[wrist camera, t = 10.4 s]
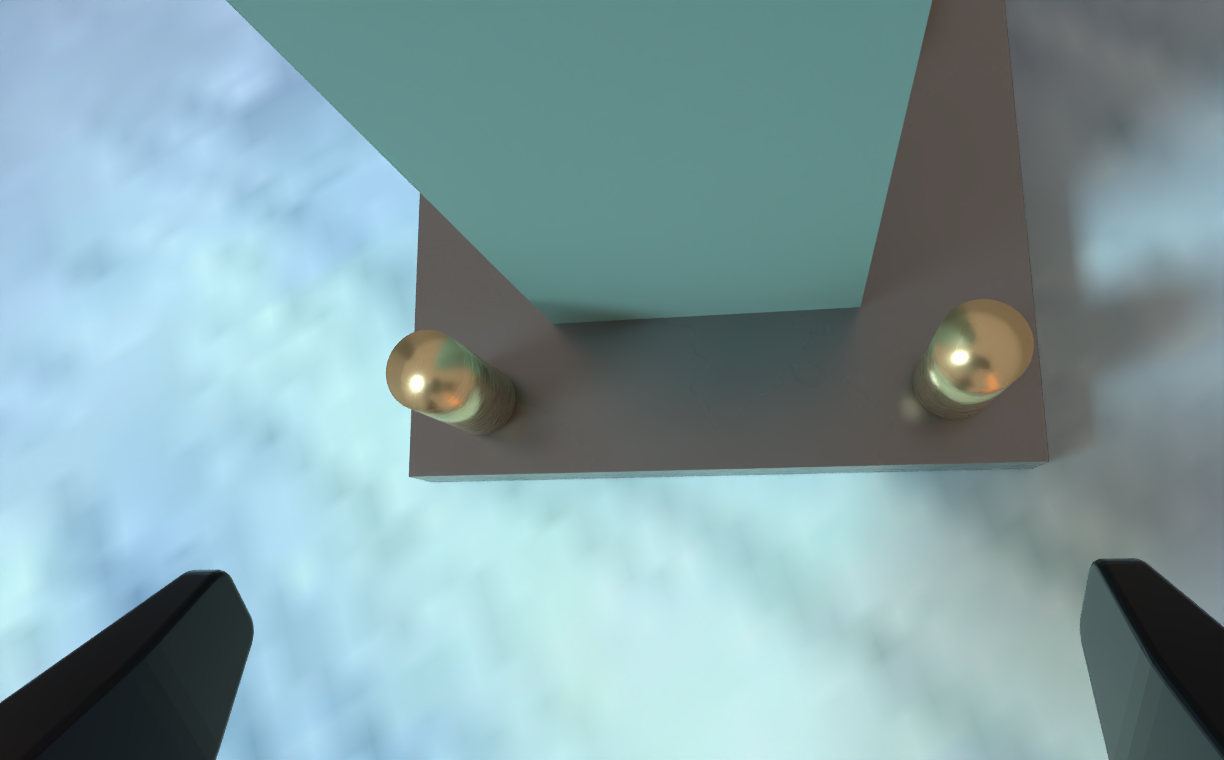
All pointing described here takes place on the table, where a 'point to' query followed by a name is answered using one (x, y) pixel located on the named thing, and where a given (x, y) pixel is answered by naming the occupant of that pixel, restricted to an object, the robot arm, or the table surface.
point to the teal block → (631, 137)
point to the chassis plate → (767, 332)
